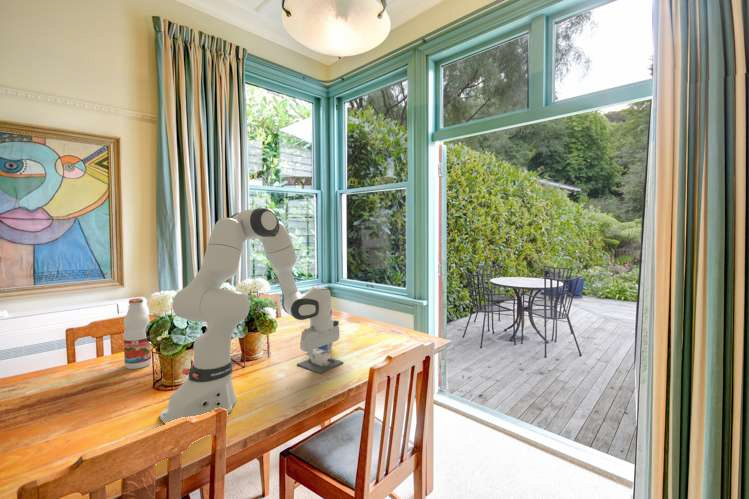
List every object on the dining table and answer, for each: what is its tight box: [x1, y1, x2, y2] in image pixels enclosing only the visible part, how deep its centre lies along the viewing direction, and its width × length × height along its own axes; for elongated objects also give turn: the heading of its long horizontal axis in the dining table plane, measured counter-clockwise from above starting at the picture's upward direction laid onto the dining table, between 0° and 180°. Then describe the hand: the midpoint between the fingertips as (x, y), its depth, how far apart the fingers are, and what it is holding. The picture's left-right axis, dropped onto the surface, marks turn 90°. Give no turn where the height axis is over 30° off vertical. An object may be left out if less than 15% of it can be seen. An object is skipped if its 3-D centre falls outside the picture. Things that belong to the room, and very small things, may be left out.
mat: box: [296, 357, 344, 375], centre depth 155 cm, size 14×14×1 cm
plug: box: [305, 348, 335, 367], centre depth 154 cm, size 15×4×5 cm, turn 53°
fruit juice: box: [123, 297, 152, 370], centre depth 150 cm, size 9×9×28 cm
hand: (320, 355), depth 154 cm, fingers open, 8 cm apart
